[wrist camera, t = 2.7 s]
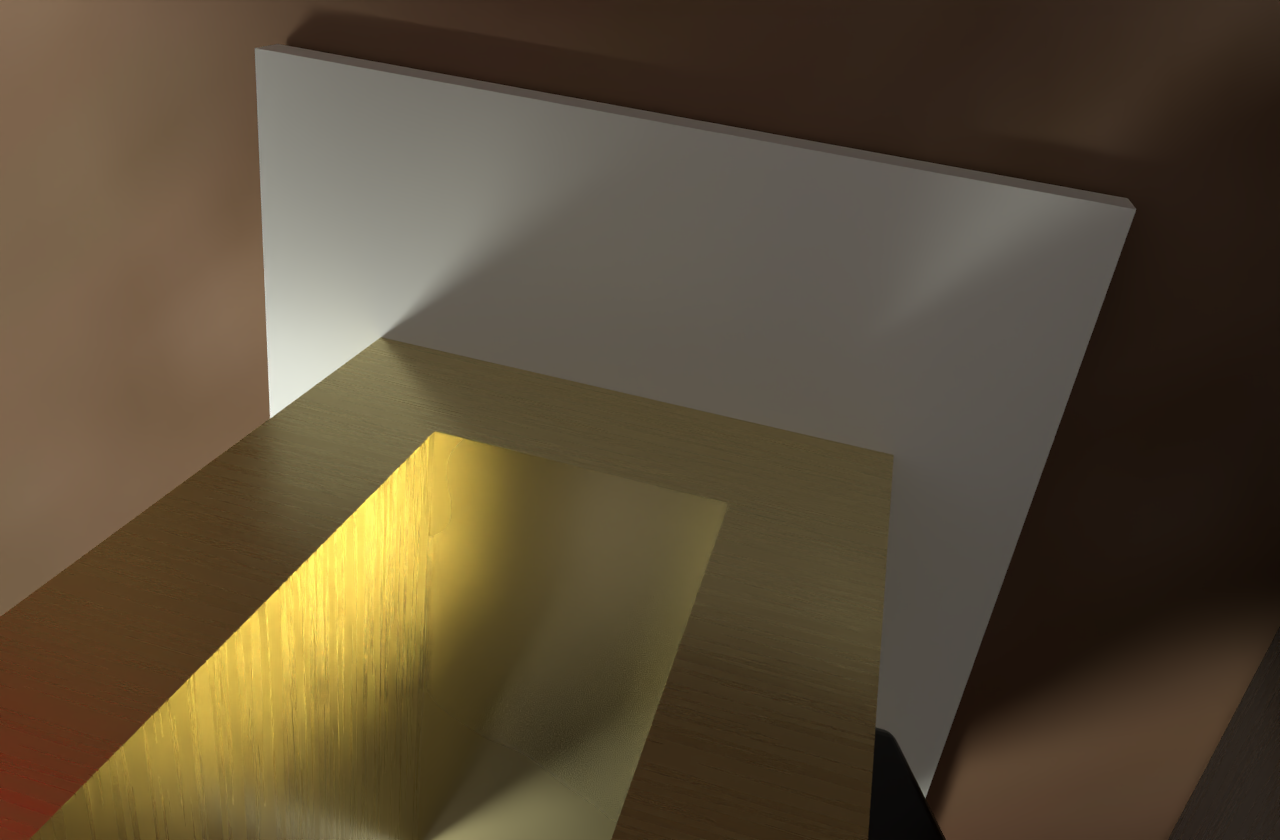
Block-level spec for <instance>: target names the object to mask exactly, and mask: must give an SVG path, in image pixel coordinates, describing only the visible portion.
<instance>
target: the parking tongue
mask: <svg viewBox="0 0 1280 840" xmlns="http://www.w3.org/2000/svg"><path fill="white" fill-rule="evenodd" d="M255 65H256V89H257V113H258V137H259V161H260V185H261V209H262V233H263V257H264V281H265V305H266V329H267V353H268V377H269V401H270V418H272V417H273V416H274V415H276V414H277V413H278V412H280V411H281V410H282V409H284V408H285V407H287V406H288V405H289V404H291V403H292V402H293V401H295V400H296V399H297V398H299V397H300V396H301V395H303V394H304V393H306V392H307V391H308V390H310V389H311V388H312V387H314V386H315V385H316V384H318V383H319V382H321V381H322V380H323V379H325V378H326V377H327V376H329V375H330V374H331V373H333V372H334V371H335V370H337V369H338V368H340V367H341V366H342V365H344V364H345V363H346V362H348V361H349V360H350V359H352V358H353V357H355V356H356V355H357V354H359V353H360V352H361V351H363V350H364V349H365V348H367V347H368V346H369V345H371V344H372V343H374V342H375V341H376V340H378V339H379V338H380V337H383V338H387V339H391V340H396V341H400V342H405V343H409V344H413V345H418V346H422V347H426V348H431V349H435V350H439V351H444V352H448V353H452V354H457V355H461V356H465V357H470V358H474V359H479V360H483V361H487V362H492V363H496V364H500V365H505V366H509V367H513V368H518V369H522V370H526V371H531V372H535V373H539V374H544V375H548V376H552V377H557V378H561V379H566V380H570V381H574V382H579V383H583V384H587V385H592V386H596V387H600V388H605V389H609V390H613V391H618V392H622V393H626V394H631V395H635V396H640V397H644V398H648V399H653V400H657V401H661V402H666V403H670V404H674V405H679V406H683V407H687V408H692V409H696V410H700V411H705V412H709V413H713V414H718V415H722V416H727V417H731V418H735V419H740V420H744V421H748V422H753V423H757V424H761V425H766V426H770V427H774V428H779V429H783V430H787V431H792V432H796V433H801V434H805V435H809V436H814V437H818V438H822V439H827V440H831V441H835V442H840V443H844V444H848V445H853V446H857V447H861V448H866V449H870V450H874V451H879V452H883V453H888V454H892V455H894V458H893V473H892V488H891V503H890V518H889V533H888V547H887V562H886V577H885V592H884V607H883V622H882V637H881V652H880V667H879V682H878V697H877V712H876V727H877V728H881V729H884V730H886V731H888V732H890V733H891V734H892V735H893V736H894V737H895V739H896V740H897V742H898V744H899V746H900V748H901V750H902V752H903V754H904V756H905V758H906V760H907V762H908V765H909V767H910V769H911V771H912V773H913V775H914V777H915V779H916V781H917V783H918V785H919V787H920V789H921V791H922V793H923V795H924V797H925V798H926V795H927V792H928V790H929V787H930V784H931V781H932V778H933V776H934V773H935V770H936V767H937V765H938V762H939V759H940V756H941V753H942V751H943V748H944V745H945V742H946V739H947V737H948V734H949V731H950V728H951V725H952V723H953V720H954V717H955V714H956V711H957V709H958V706H959V703H960V700H961V698H962V695H963V692H964V689H965V686H966V684H967V681H968V678H969V675H970V672H971V670H972V667H973V664H974V661H975V658H976V656H977V653H978V650H979V647H980V644H981V642H982V639H983V636H984V633H985V630H986V628H987V625H988V622H989V619H990V617H991V614H992V611H993V608H994V605H995V603H996V600H997V597H998V594H999V591H1000V589H1001V586H1002V583H1003V580H1004V577H1005V575H1006V572H1007V569H1008V566H1009V563H1010V561H1011V558H1012V555H1013V552H1014V550H1015V547H1016V544H1017V541H1018V538H1019V536H1020V533H1021V530H1022V527H1023V524H1024V522H1025V519H1026V516H1027V513H1028V510H1029V508H1030V505H1031V502H1032V499H1033V496H1034V494H1035V491H1036V488H1037V485H1038V483H1039V480H1040V477H1041V474H1042V471H1043V469H1044V466H1045V463H1046V460H1047V457H1048V455H1049V452H1050V449H1051V446H1052V443H1053V441H1054V438H1055V435H1056V432H1057V429H1058V427H1059V424H1060V421H1061V418H1062V416H1063V413H1064V410H1065V407H1066V404H1067V402H1068V399H1069V396H1070V393H1071V390H1072V388H1073V385H1074V382H1075V379H1076V376H1077V374H1078V371H1079V368H1080V365H1081V362H1082V360H1083V357H1084V354H1085V351H1086V348H1087V346H1088V343H1089V340H1090V337H1091V335H1092V332H1093V329H1094V326H1095V323H1096V321H1097V318H1098V315H1099V312H1100V309H1101V307H1102V304H1103V301H1104V298H1105V295H1106V293H1107V290H1108V287H1109V284H1110V281H1111V279H1112V276H1113V273H1114V270H1115V268H1116V265H1117V262H1118V259H1119V256H1120V254H1121V251H1122V248H1123V245H1124V242H1125V240H1126V237H1127V234H1128V231H1129V228H1130V226H1131V223H1132V220H1133V217H1134V214H1135V212H1136V208H1135V207H1134V206H1133V204H1132V203H1131V202H1130V200H1129V199H1128V198H1123V197H1118V196H1112V195H1107V194H1101V193H1096V192H1090V191H1085V190H1079V189H1074V188H1068V187H1063V186H1057V185H1052V184H1046V183H1041V182H1035V181H1030V180H1024V179H1019V178H1013V177H1008V176H1002V175H997V174H991V173H986V172H980V171H975V170H969V169H964V168H958V167H953V166H947V165H942V164H936V163H931V162H925V161H920V160H914V159H909V158H903V157H898V156H892V155H887V154H881V153H876V152H870V151H865V150H859V149H854V148H848V147H843V146H837V145H832V144H826V143H821V142H815V141H810V140H804V139H799V138H793V137H788V136H782V135H777V134H771V133H766V132H760V131H755V130H749V129H744V128H738V127H733V126H727V125H722V124H716V123H711V122H705V121H700V120H694V119H689V118H683V117H678V116H672V115H667V114H661V113H655V112H650V111H644V110H639V109H633V108H628V107H622V106H617V105H611V104H606V103H600V102H595V101H589V100H584V99H578V98H573V97H567V96H562V95H556V94H551V93H545V92H540V91H534V90H529V89H523V88H518V87H512V86H507V85H501V84H496V83H490V82H485V81H479V80H474V79H468V78H463V77H457V76H452V75H446V74H441V73H435V72H430V71H424V70H419V69H413V68H408V67H402V66H397V65H391V64H386V63H380V62H375V61H369V60H364V59H358V58H353V57H347V56H342V55H336V54H331V53H325V52H320V51H314V50H309V49H303V48H298V47H292V46H287V45H281V44H275V45H269V46H263V47H258V48H255Z"/></svg>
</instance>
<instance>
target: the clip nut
mask: <svg viewBox="0 0 1280 840" xmlns="http://www.w3.org/2000/svg"><path fill="white" fill-rule="evenodd" d="M893 458H894V455H892V454H888V453H883V452H879V451H874V450H870V449H866V448H861V447H857V446H853V445H848V444H844V443H840V442H835V441H831V440H827V439H822V438H818V437H814V436H809V435H805V434H801V433H796V432H792V431H787V430H783V429H779V428H774V427H770V426H766V425H761V424H757V423H753V422H748V421H744V420H740V419H735V418H731V417H727V416H722V415H718V414H713V413H709V412H705V411H700V410H696V409H692V408H687V407H683V406H679V405H674V404H670V403H666V402H661V401H657V400H653V399H648V398H644V397H640V396H635V395H631V394H626V393H622V392H618V391H613V390H609V389H605V388H600V387H596V386H592V385H587V384H583V383H579V382H574V381H570V380H566V379H561V378H557V377H552V376H548V375H544V374H539V373H535V372H531V371H526V370H522V369H518V368H513V367H509V366H505V365H500V364H496V363H492V362H487V361H483V360H479V359H474V358H470V357H465V356H461V355H457V354H452V353H448V352H444V351H439V350H435V349H431V348H426V347H422V346H418V345H413V344H409V343H405V342H400V341H396V340H391V339H387V338H383V337H380V338H379V339H378V340H376V341H375V342H374V343H372V344H371V345H369V346H368V347H367V348H365V349H364V350H363V351H361V352H360V353H359V354H357V355H356V356H355V357H353V358H352V359H350V360H349V361H348V362H346V363H345V364H344V365H342V366H341V367H340V368H338V369H337V370H335V371H334V372H333V373H331V374H330V375H329V376H327V377H326V378H325V379H323V380H322V381H321V382H319V383H318V384H316V385H315V386H314V387H312V388H311V389H310V390H308V391H307V392H306V393H304V394H303V395H301V396H300V397H299V398H297V399H296V400H295V401H293V402H292V403H291V404H289V405H288V406H287V407H285V408H284V409H282V410H281V411H280V412H278V413H277V414H276V415H274V416H273V417H272V418H270V419H269V420H267V421H266V422H265V423H263V424H262V425H261V426H259V427H258V428H257V429H255V430H254V431H252V432H251V433H250V434H248V435H247V436H246V437H244V438H243V439H242V440H240V441H239V442H238V443H236V444H235V445H233V446H232V447H231V448H229V449H228V450H227V451H225V452H224V453H223V454H221V455H220V456H218V457H217V458H216V459H214V460H213V461H212V462H210V463H209V464H208V465H206V466H205V467H204V468H202V469H201V470H199V471H198V472H197V473H195V474H194V475H193V476H191V477H190V478H189V479H187V480H186V481H184V482H183V483H182V484H180V485H179V486H178V487H176V488H175V489H174V490H172V491H171V492H170V493H168V494H167V495H165V496H164V497H163V498H161V499H160V500H159V501H157V502H156V503H155V504H153V505H152V506H150V507H149V508H148V509H146V510H145V511H144V512H142V513H141V514H140V515H138V516H137V517H136V518H134V519H133V520H131V521H130V522H129V523H127V524H126V525H125V526H123V527H122V528H121V529H119V530H118V531H116V532H115V533H114V534H112V535H111V536H110V537H108V538H107V539H106V540H104V541H103V542H101V543H100V544H99V545H97V546H96V547H95V548H93V549H92V550H91V551H89V552H88V553H87V554H85V555H84V556H82V557H81V558H80V559H78V560H77V561H76V562H74V563H73V564H72V565H70V566H69V567H67V568H66V569H65V570H63V571H62V572H61V573H59V574H58V575H57V576H55V577H54V578H53V579H51V580H50V581H48V582H47V583H46V584H44V585H43V586H42V587H40V588H39V589H38V590H36V591H35V592H33V593H32V594H31V595H29V596H28V597H27V598H25V599H24V600H23V601H21V602H20V603H19V604H17V605H16V606H14V607H13V608H12V609H10V610H9V611H8V612H6V613H5V614H4V615H2V616H1V617H0V840H868V832H869V817H870V802H871V787H872V772H873V757H874V742H875V727H876V712H877V697H878V682H879V667H880V652H881V637H882V622H883V607H884V592H885V577H886V562H887V547H888V533H889V518H890V503H891V488H892V473H893Z"/></svg>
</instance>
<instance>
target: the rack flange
mask: <svg viewBox="0 0 1280 840" xmlns="http://www.w3.org/2000/svg"><path fill="white" fill-rule="evenodd" d="M1168 840H1280V627H1279V629H1278V631H1277V633H1276V635H1275V637H1274V639H1273V641H1272V643H1271V645H1270V646H1269V648H1268V650H1267V652H1266V654H1265V656H1264V658H1263V660H1262V662H1261V664H1260V666H1259V667H1258V669H1257V671H1256V673H1255V675H1254V677H1253V679H1252V681H1251V683H1250V685H1249V687H1248V688H1247V690H1246V692H1245V694H1244V696H1243V698H1242V700H1241V702H1240V704H1239V706H1238V708H1237V709H1236V711H1235V713H1234V715H1233V717H1232V719H1231V721H1230V723H1229V725H1228V727H1227V729H1226V730H1225V732H1224V734H1223V736H1222V738H1221V740H1220V742H1219V744H1218V746H1217V748H1216V750H1215V751H1214V753H1213V755H1212V757H1211V759H1210V761H1209V763H1208V765H1207V767H1206V769H1205V771H1204V772H1203V774H1202V776H1201V778H1200V780H1199V782H1198V784H1197V786H1196V788H1195V790H1194V792H1193V793H1192V795H1191V797H1190V799H1189V801H1188V803H1187V805H1186V807H1185V809H1184V811H1183V813H1182V814H1181V816H1180V818H1179V820H1178V822H1177V824H1176V826H1175V828H1174V830H1173V832H1172V834H1171V835H1170V837H1169V839H1168Z"/></svg>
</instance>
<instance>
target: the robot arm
mask: <svg viewBox="0 0 1280 840" xmlns="http://www.w3.org/2000/svg"><path fill="white" fill-rule="evenodd" d="M868 840H946V839H945V837H944V835H943V833H942V831H941V829H940V827H939V825H938V823H937V821H936V819H935V817H934V815H933V813H932V811H931V809H930V807H929V805H928V803H927V801H926V799H925V797H924V795H923V793H922V791H921V789H920V787H919V785H918V783H917V781H916V779H915V777H914V775H913V773H912V771H911V769H910V767H909V765H908V762H907V760H906V758H905V756H904V754H903V752H902V750H901V748H900V746H899V744H898V742H897V740H896V739H895V737H894V736H893V735H892V734H891V733H890V732H888V731H886V730H884V729H881V728H877V727H875V742H874V757H873V772H872V787H871V802H870V817H869V832H868Z"/></svg>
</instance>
